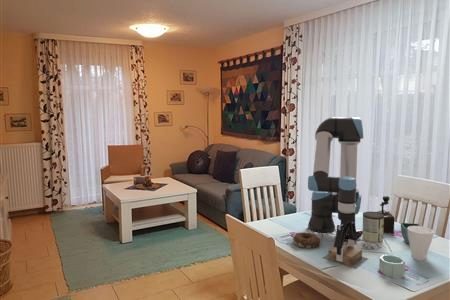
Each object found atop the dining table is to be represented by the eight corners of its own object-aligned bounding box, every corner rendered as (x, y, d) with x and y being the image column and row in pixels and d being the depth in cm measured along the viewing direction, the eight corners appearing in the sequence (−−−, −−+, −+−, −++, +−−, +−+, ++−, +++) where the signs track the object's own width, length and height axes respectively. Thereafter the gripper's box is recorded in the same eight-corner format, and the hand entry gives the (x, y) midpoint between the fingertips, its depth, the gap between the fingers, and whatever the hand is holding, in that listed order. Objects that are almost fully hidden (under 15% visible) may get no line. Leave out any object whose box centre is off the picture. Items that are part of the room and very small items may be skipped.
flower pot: (423, 246, 171) (424, 229, 170) (404, 245, 173) (405, 228, 172) (417, 239, 179) (418, 223, 178) (399, 238, 181) (400, 222, 180)
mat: (322, 259, 158) (322, 258, 158) (336, 250, 168) (336, 248, 168) (355, 270, 147) (355, 268, 147) (368, 259, 157) (368, 258, 157)
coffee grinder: (395, 233, 188) (397, 202, 186) (374, 232, 190) (375, 201, 188) (387, 224, 204) (389, 195, 201) (368, 223, 206) (369, 194, 204)
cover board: (328, 258, 157) (328, 250, 157) (339, 251, 165) (339, 243, 165) (351, 265, 150) (351, 257, 149) (362, 257, 157) (362, 249, 157)
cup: (431, 264, 151) (433, 235, 150) (405, 259, 157) (406, 231, 155) (432, 255, 160) (433, 228, 158) (406, 251, 166) (408, 224, 164)
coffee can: (361, 235, 187) (362, 210, 185) (381, 237, 183) (383, 212, 182) (362, 242, 177) (363, 216, 175) (384, 244, 174) (385, 218, 172)
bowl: (376, 272, 144) (377, 259, 143) (384, 265, 151) (384, 252, 150) (399, 280, 138) (399, 266, 137) (406, 272, 144) (407, 258, 144)
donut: (287, 245, 176) (287, 235, 175) (302, 237, 185) (302, 229, 185) (312, 253, 166) (312, 243, 165) (326, 244, 175) (326, 235, 175)
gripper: (342, 218, 144) (341, 268, 146) (365, 207, 160) (363, 251, 163) (326, 215, 149) (325, 262, 152) (349, 204, 166) (348, 247, 168)
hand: (345, 256), depth 157 cm, fingers closed on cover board, 11 cm apart
